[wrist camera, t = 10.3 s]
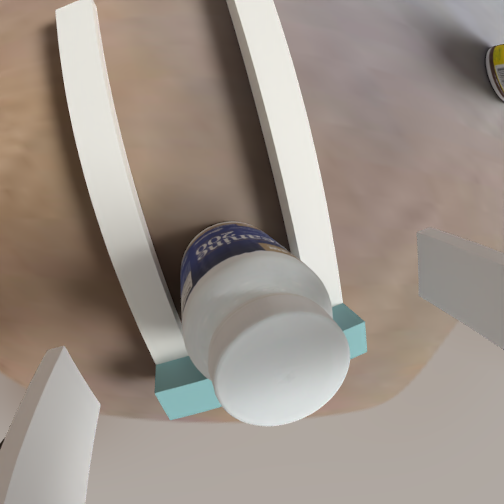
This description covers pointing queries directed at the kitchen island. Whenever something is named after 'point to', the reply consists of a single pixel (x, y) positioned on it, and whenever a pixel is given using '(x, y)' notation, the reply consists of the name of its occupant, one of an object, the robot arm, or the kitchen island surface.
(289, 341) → the pill bottle
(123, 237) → the guide track
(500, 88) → the supplement bottle
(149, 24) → the kitchen island surface
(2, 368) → the kitchen island surface
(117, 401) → the kitchen island surface
